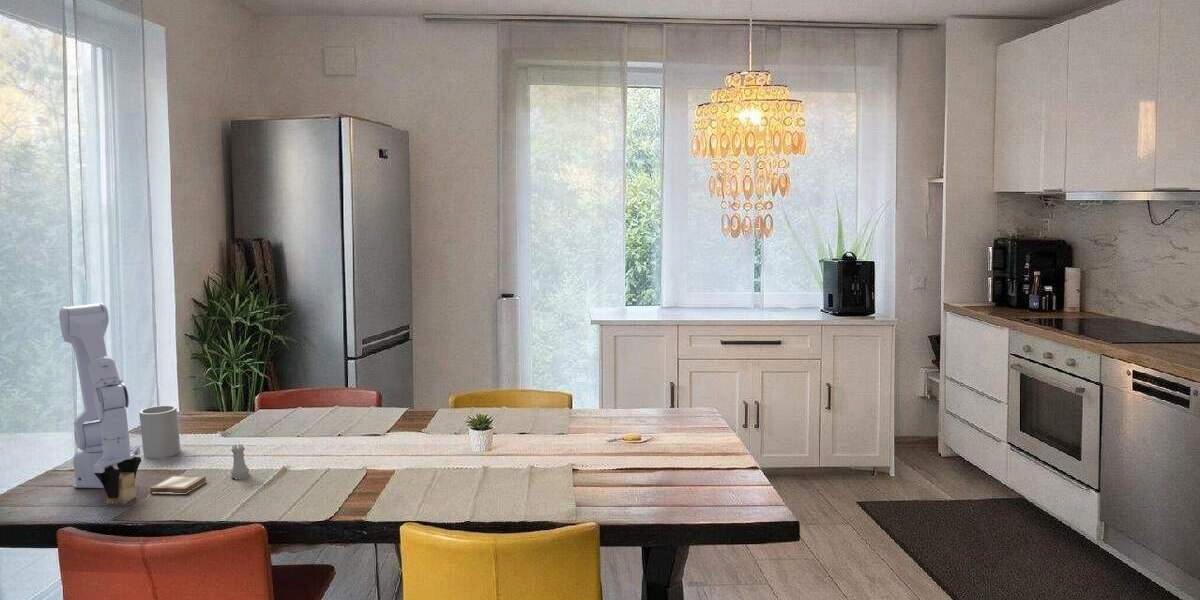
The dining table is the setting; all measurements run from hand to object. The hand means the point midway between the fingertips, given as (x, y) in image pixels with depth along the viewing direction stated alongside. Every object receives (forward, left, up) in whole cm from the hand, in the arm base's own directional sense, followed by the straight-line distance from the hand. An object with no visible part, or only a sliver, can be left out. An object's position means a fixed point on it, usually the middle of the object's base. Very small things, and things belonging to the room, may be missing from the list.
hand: (121, 493), depth 236 cm
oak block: (0, 0, -2) cm, 2 cm away
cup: (-12, +36, -2) cm, 38 cm away
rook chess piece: (+20, +18, -2) cm, 27 cm away
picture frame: (+9, +9, -2) cm, 13 cm away
